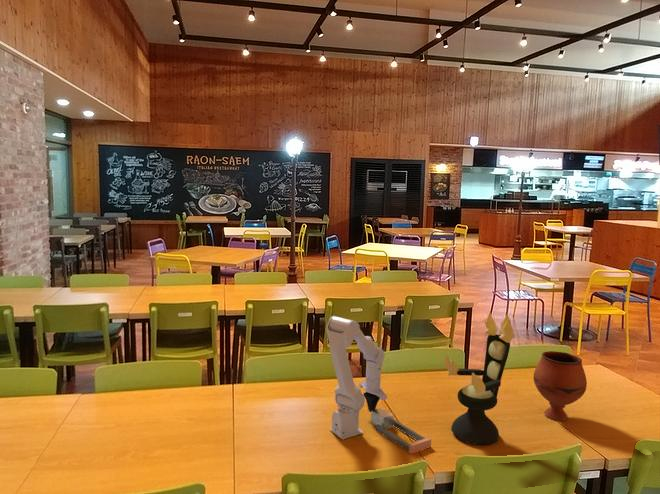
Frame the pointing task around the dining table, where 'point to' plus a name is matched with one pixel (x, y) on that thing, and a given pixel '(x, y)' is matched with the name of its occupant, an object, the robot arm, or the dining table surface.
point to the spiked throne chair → (482, 386)
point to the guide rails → (411, 447)
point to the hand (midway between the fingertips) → (371, 411)
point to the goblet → (560, 381)
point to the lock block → (382, 418)
